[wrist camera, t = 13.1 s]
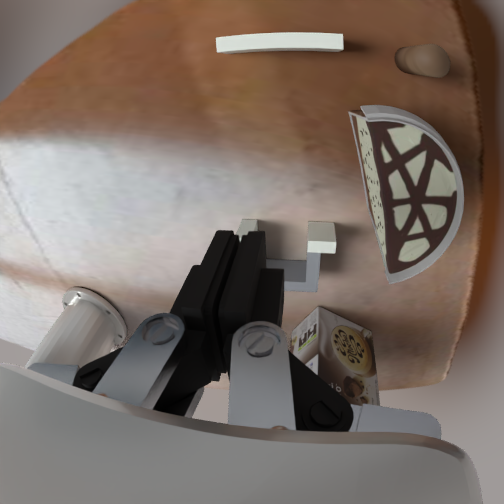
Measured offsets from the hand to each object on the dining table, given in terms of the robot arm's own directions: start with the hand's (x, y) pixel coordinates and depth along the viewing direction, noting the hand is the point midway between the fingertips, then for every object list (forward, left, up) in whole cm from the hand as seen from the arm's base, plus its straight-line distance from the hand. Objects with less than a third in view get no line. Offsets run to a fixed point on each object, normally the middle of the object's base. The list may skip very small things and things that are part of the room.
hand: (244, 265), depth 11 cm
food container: (-1, -10, -18) cm, 20 cm away
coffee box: (-24, -6, -18) cm, 30 cm away
